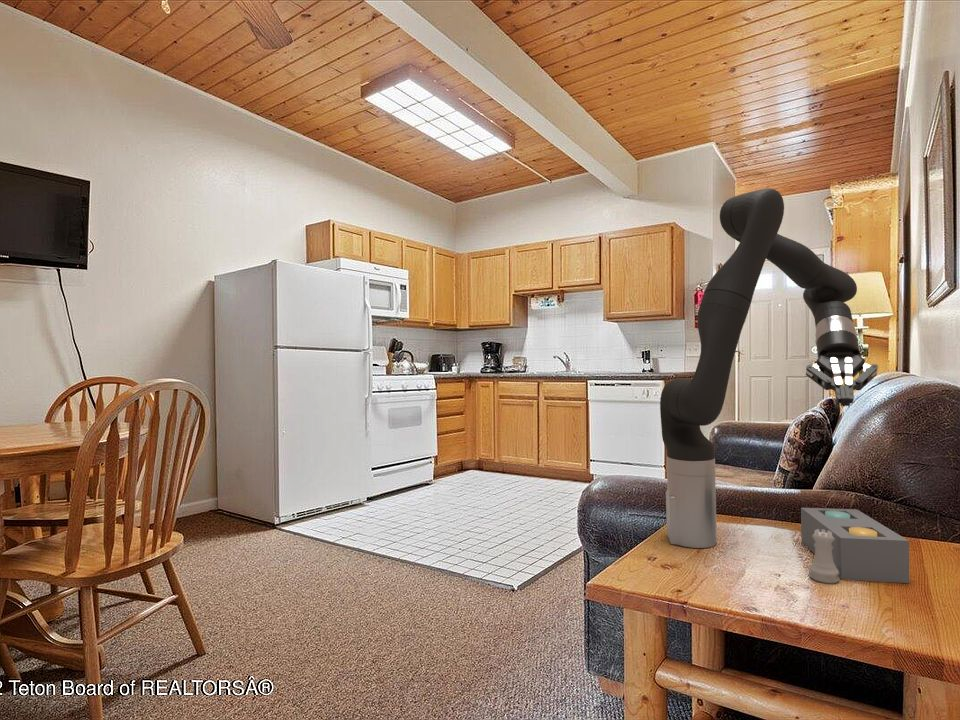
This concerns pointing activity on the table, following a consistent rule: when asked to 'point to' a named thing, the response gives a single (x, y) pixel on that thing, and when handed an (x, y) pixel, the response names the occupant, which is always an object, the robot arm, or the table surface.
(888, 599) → the table surface
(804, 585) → the table surface
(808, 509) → the console
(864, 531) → the amber button
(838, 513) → the teal button
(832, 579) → the rook chess piece
